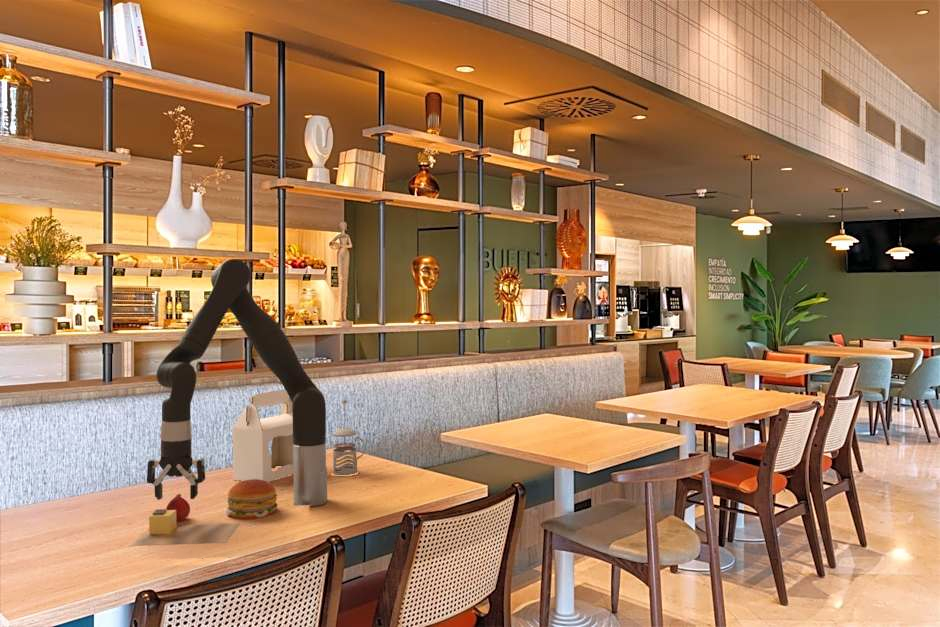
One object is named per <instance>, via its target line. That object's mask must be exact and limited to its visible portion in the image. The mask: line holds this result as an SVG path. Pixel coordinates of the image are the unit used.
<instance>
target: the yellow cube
mask: <svg viewBox="0 0 940 627" xmlns="http://www.w3.org/2000/svg"><path fill="white" fill-rule="evenodd" d="M148 522H149V523H148V529H149V534H171V533H172V532H173V531H174V530H175V529H176V528H177V525H178V524H177V523H178V522H176V510H166V508H165V509H163V508H162V509H156V510H155V511H153V512H152V513H151V514H149V516H148Z"/></svg>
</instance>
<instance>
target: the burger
mask: <svg viewBox="0 0 940 627" xmlns="http://www.w3.org/2000/svg"><path fill="white" fill-rule="evenodd" d="M277 499H278V494H277V490H276V487H275V486H274V485H273V484H272V482H267V481H264V480H259V479H252V480H245V481H238V483H236V484H234V485H233V486H231V488H230V489H229V491H228V492H227V503H228V505H227V506H228V507H227V508H226V516H229V517H231V518H233V519H239V520H240V519H242V520H243V519H244V520H250V519H251V520H252V519H258V518H264V517H268V516H271V515H273V514H274V513H275V511H276V510H277V507H278V505H279V504H278V502H277Z"/></svg>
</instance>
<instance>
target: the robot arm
mask: <svg viewBox="0 0 940 627" xmlns="http://www.w3.org/2000/svg"><path fill="white" fill-rule="evenodd" d="M251 275H252V274H251V270H250V267H249V266H248V264H247V263H246V262H245V261H243V260H241V259H238V258H231V259H228V260H227V259H226V260H225V261H223V262H222V263H220V264H219V265H218V266H217V267H216V268H215V269H214V270H213V272H212V273H211V277H210V282H211V285H212V290H211V292H210V293H209V295H208V297H207V298H206V300H205V302H204V303H203V305H202V306H201V308H199V310H198V311H197V312H196V314H195V315H194V317H192V318H193V319H192V320H191V321H190V322H189V324H188V326H187V328H186V330H185V331H184V332H183V334H182V336H181V338H180V340H179V342H178V344H177V345H176V346H174V347H173V348H172V349H171V350H170V351H169V352H168V354H167V355H166V356H165V357H164V358H163V360H162V361H161V363H160V364H159V365H158V368H157V371H156V381H157V383H158V384H159V385H160V386H161V387H164V388H168V389H169V388H171V392H170V395H169V397H167V398H165V399H163V401H162V403H161V427H160V435H159V436H160V459H155V458H151V459H150V460H148V462H147V471H146V483H148V484H152V485H153V486H154V497H155V498H156V500H159V501H160V500H162V498H163V483H162V482H163V481H164V480H165V479H166V477H167V476H168V478H169V477H171V478H172V477H178V478H179V477H184V478H185V479H186V480H187V481H188V482H189V483H190V486H189V487H190V491H189V492H190V493H189V494H190V495H189V498H190V500H195V498H196V497H197V496H198V495H199V491H198V489H199V488H198V487H199V484H202V483H203V481H205V480H206V471H205V459H204V458H203V457H201V458H199V459H193V457H192V440H193V439H192V433H193V432H192V422H191V403H192V400H193V397H194V392H195V390H196V384H197V373H196V370H195V368H194V366H193V365H192V364H191V363H192V362H193V361H197V360H200V359H201V358H202V357H203V356H204V354H205V352H206V350H207V349H208V347H209V345H210V344H211V342H212V340H213V338H214V336H215V334H216V332H217V330H218V328H219V326H220V325H221V322H222V321H223V319H224V318H225V315H226V314H227V312H228V311H229V310H230V311H231V314H233V316H234V317H235V319H236V320H237V322H238V324H239V326H240V327H241V329H242V331H243V332H244V335H246V336H247V338H248V340H249V342H250V344H251V346H253V348H254V351H256V353H257V355H258V356H259V357H260V359H261V360H262V362H263V363H264V364H265V365H266V367H267V368H268V369H269V370H270V371H271V372H272V373H273V374H274V375H275V377H276V378H277V379H278V380H279V381H280V383H281V385H282V386H283V388H284V390H286V391H287V393H288V396H289V397H290V399H291V401H292V404H293V405H292V415H293V475H292V476H293V504H294V505H295V506H310V507H316V506H321V505H324V504H325V503H327V500H328V468H327V458H326V457H327V453H326V452H327V450H326V449H327V445H326V444H327V442H326V441H327V440H326V439H327V422H326V421H327V417H326V415H327V413H326V412H327V410H326V409H327V408H326V407H327V406H326V405H327V403H326V399H325V396H324V394H323V392H322V391H321V390H320V389H319V387H317V386H316V384H315V383H314V382H313V381H312V379H311V378H310V376H309V375H308V374H307V372H306V371H305V369H304V367H303V366H302V364H301V362H300V360H299V358H298V356H297V353H296V352H295V350H294V347H293V346H292V344H291V343H290V340H289V339H288V337H287V335H286V334H285V332H284V331H283V329H282V328H281V326H280V325H279V323H278V322H276V320H275V319H274V318H272V316H271V315H269V314H268V313H267V312H266V311H264V309H262V308H261V307H260V305H258V304H257V303H256V301H255V300H254V298H253V297H252V295H251V294H250V292H249V290H248V288H247V286H248V285H249V283H250V281H251V277H252V276H251ZM192 465H194V468H196V473H197V474H196V475H197V477H196V475H195V472H193V470H192V468H191V467H192ZM158 466H159V467H160V469H162V471H161V472H160V473H159V475H158V476H157V477H156V468H158ZM325 505H326V504H325Z"/></svg>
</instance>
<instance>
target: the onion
mask: <svg viewBox="0 0 940 627" xmlns="http://www.w3.org/2000/svg"><path fill="white" fill-rule="evenodd" d="M165 509H166V510H176V523H178V522H182V521H184V520H186V519H187V518H188V517H189V514H190V513H191V506H190V504H189V502H188V501H187V500H186V499H185V498H184V497H182V494H181V493H177V494H176V495H175V496H174V497H173V498H172V499H171V500H170V501H169V502H168V504H167V505H166V508H165Z"/></svg>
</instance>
